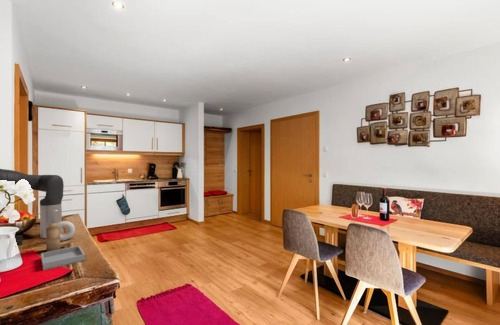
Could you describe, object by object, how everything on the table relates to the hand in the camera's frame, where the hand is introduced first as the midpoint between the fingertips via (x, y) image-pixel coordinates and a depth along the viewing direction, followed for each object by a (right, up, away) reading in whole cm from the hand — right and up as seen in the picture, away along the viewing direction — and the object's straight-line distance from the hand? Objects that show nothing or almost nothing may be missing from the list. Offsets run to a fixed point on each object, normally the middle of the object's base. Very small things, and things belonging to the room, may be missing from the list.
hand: (22, 239), depth 109 cm
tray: (+21, -7, -4) cm, 22 cm away
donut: (+2, -7, +21) cm, 22 cm away
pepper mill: (+8, -7, +7) cm, 13 cm away
